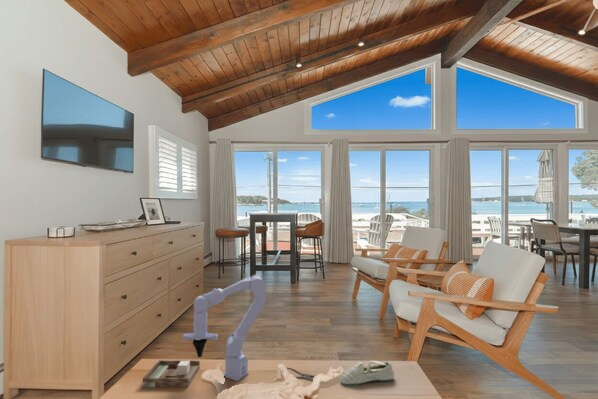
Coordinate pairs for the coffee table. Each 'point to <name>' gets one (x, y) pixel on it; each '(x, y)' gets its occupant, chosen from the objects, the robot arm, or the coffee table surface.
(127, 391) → the coffee table surface
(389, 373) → the ballet flat
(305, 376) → the pliers
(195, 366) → the wooden tray
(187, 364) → the cream block
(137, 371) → the coffee table surface
